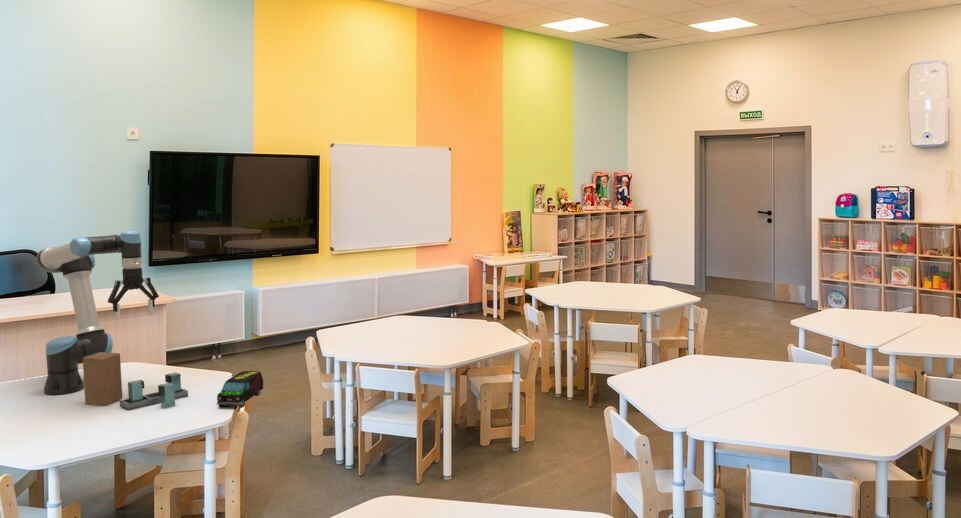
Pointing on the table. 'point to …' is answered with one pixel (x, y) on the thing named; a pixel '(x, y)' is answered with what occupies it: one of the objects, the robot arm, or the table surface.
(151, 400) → the rail
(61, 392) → the robot arm
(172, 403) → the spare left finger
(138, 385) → the teal rectangular block
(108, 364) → the wooden block
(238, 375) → the toy van
